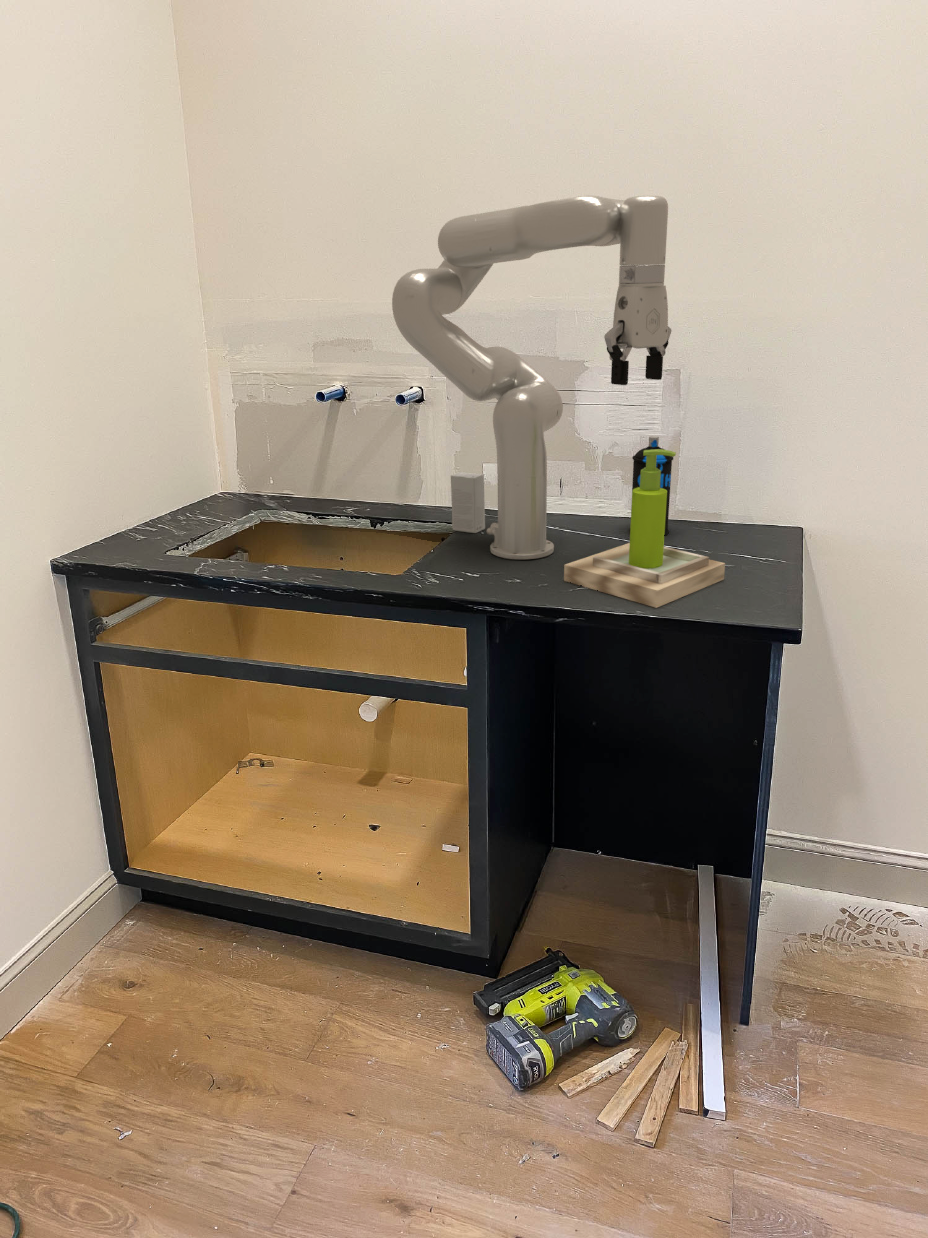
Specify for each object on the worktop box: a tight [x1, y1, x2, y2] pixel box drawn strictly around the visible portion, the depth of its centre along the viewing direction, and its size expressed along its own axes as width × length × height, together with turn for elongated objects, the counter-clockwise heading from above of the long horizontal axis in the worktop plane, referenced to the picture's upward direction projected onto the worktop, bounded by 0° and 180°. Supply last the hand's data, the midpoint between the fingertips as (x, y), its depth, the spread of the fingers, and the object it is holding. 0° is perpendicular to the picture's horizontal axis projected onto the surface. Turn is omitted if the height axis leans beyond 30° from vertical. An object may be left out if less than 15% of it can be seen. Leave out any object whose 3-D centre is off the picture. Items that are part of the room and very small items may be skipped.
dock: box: [563, 542, 726, 609], centre depth 159 cm, size 20×20×4 cm
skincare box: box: [450, 471, 486, 534], centre depth 192 cm, size 6×4×12 cm
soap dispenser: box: [629, 448, 677, 568], centre depth 155 cm, size 6×7×20 cm
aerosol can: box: [628, 435, 674, 536], centre depth 185 cm, size 8×8×20 cm
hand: (636, 381), depth 157 cm, fingers open, 9 cm apart
